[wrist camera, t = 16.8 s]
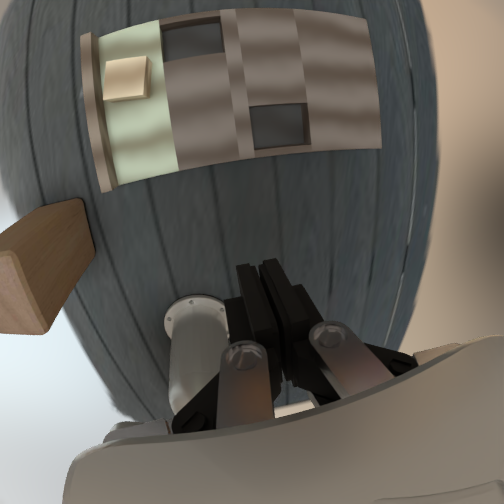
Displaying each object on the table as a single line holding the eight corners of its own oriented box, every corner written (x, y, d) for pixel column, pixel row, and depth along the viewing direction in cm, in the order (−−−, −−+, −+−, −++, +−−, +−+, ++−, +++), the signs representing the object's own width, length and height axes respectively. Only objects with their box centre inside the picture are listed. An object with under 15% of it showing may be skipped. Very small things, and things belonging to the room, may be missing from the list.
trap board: (371, 146, 39) (393, 150, 33) (115, 183, 35) (101, 193, 29) (356, 24, 29) (376, 14, 23) (95, 46, 25) (80, 36, 19)
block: (52, 261, 37) (-5, 336, 20) (36, 206, 33) (-39, 263, 15) (98, 254, 39) (48, 339, 21) (84, 195, 34) (9, 253, 17)
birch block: (149, 98, 28) (143, 94, 25) (113, 102, 27) (102, 100, 24) (152, 63, 26) (146, 55, 22) (115, 67, 25) (106, 61, 22)
